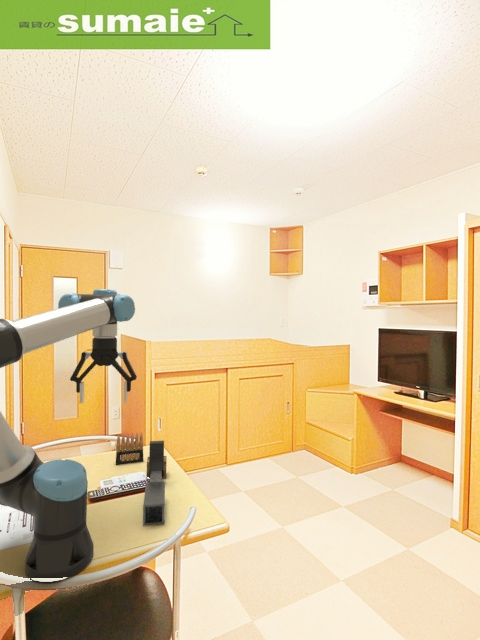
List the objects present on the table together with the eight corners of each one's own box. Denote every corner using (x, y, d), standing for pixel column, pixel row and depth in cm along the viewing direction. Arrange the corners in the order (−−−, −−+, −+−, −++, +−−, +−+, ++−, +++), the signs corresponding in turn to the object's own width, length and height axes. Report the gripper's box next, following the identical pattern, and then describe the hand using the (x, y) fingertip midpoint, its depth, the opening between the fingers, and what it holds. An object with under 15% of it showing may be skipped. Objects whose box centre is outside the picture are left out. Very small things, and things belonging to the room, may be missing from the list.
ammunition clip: (142, 460, 152) (143, 431, 151) (143, 461, 150) (144, 432, 150) (115, 463, 148) (116, 433, 147) (115, 465, 146) (116, 435, 146)
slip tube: (162, 501, 118) (163, 458, 118) (146, 502, 117) (147, 459, 117) (163, 471, 139) (164, 435, 139) (149, 472, 138) (150, 436, 138)
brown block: (166, 478, 136) (166, 461, 136) (146, 479, 135) (146, 462, 135) (166, 472, 141) (166, 455, 141) (147, 473, 140) (147, 456, 139)
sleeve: (164, 523, 108) (164, 503, 107) (143, 525, 106) (143, 505, 106) (164, 499, 121) (164, 481, 121) (145, 500, 120) (146, 482, 120)
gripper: (145, 336, 126) (144, 398, 126) (66, 335, 121) (66, 399, 122) (143, 338, 118) (142, 403, 119) (60, 337, 114) (59, 405, 114)
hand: (103, 402), depth 120 cm, fingers open, 13 cm apart
